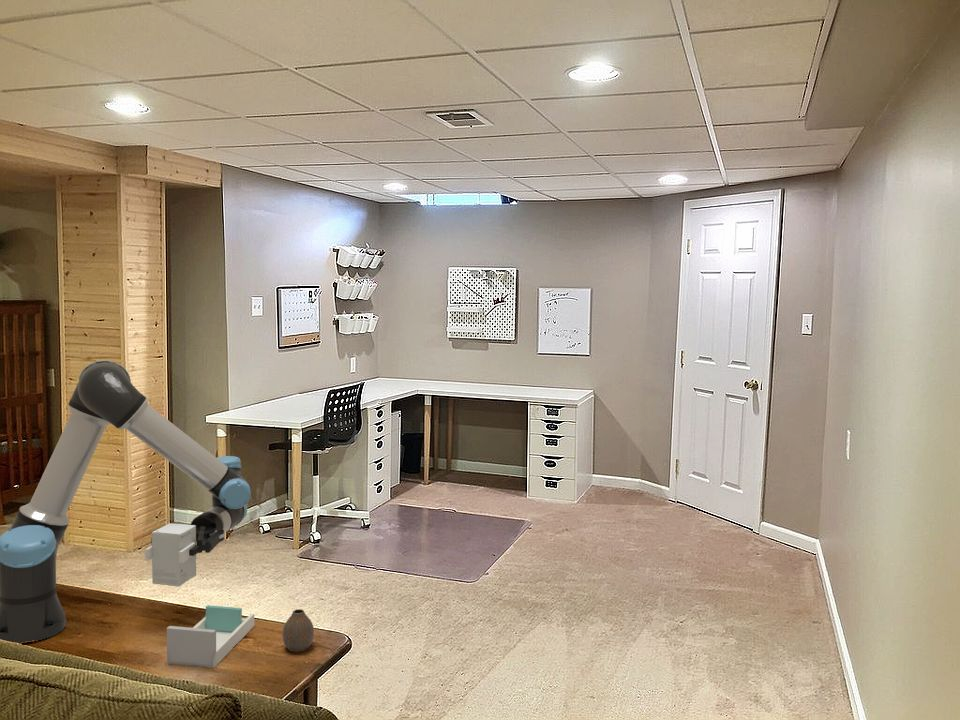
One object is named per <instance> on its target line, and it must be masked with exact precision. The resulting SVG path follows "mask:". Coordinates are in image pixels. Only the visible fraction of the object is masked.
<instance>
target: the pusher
mask: <svg viewBox="0 0 960 720" xmlns="http://www.w3.org/2000/svg"><path fill="white" fill-rule="evenodd" d="M242 611H243V608H242V607H234V606H233V607H232V606H220V605H218V606H217V605H210V604H209V605H208V604H207V605H206V606H205V616H206V629H211V630H218V631H229V632H233V631H234V630H235V629H236V628H237V627H238V626H239V625H240V624H241V623H242V618H243V615H242V614H243V612H242Z"/></svg>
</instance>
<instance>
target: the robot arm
mask: <svg viewBox="0 0 960 720" xmlns="http://www.w3.org/2000/svg"><path fill="white" fill-rule="evenodd" d="M67 407H68V409H69V411H70V415H69V417H68V419H67V422H66V423H65V426H64V428H63V431H62V432H61V435H60V437H59V438H58V441H57V443H56V445H55V448H54V450H53V452H52V454H51V456H50V458H49V461H48V463H47V465H46V466H45V469H44V472H43V473H42V476H41V478H40V480H39V482H38V484H37V487H36V489H35V491H34V493H33V495H32V497H31V499H30V502H29V503H27V504H25V505H21V506H20V507H19V509H18V511H17V514H16V515H15V517H14V520H13V522H12V524H11V526H10V527H9V528H8V530H7V531H5V532H4V533H2V534H1V535H0V639H3V640H7V641H13V642H18V643H22V642H25V641H32V640H35V641H36V640H41V641H43V640H42V639H44V640H46V639H45V638H47V639H49V637H50V638H52V637H54V636H56V635H58V634H59V633H61V632H62V631H63V630H64V629H65V628H66V625H67V623H66V613H65V610H64V609H63V606H62V604H61V602H60V599H59V597H58V595H57V566H56V563H57V562H56V561H57V554H58V549H59V546H60V544H61V541H62V539H63V537H64V535H65V533H66V530H67V528H68V526H69V524H70V519H69V517H68V515H67V512H68V510H69V508H70V506H71V504H72V501H73V499H74V497H75V495H76V493H77V491H78V489H79V486H80V485H81V482H82V480H83V477H84V476H85V473H86V472H87V469H88V466H89V465H90V462H91V460H92V458H93V456H94V454H95V452H96V450H97V447H98V446H99V442H100V440H101V439H102V437H103V434H104V432H105V430H106V427H107V426H109V425H112V426H114V427H115V428H116V429H118V430H123V429H125V430H126V431H128V432H129V433H130V434H132V435H134V436H135V437H136V438H137V439H139V440H140V441H141V442H142V443H144V444H145V445H147V446H148V447H150V448H151V449H152V450H153V451H155V452H156V453H157V454H158V455H160V456H161V457H162V458H164V459H165V460H167V461H168V462H169V463H170V464H172V465H173V466H175V467H176V468H177V469H179V470H180V471H182V472H183V473H184V474H185V475H186V476H188V477H190V478H191V479H192V480H194V481H195V482H196V483H197V484H199V486H201V487H203V488H204V489H205V490H206V491H208V492H209V493H211V504H212V505H211V506H212V507H211V508H209V509H207V510H204V511H203V512H202V513H201V514H199V515H197V516H196V517H194V518H193V519H192V520H191V522H190V523H189V525H196V543H195V542H192V543H191V544H189V545H188V546H187V547H185V548H184V549H182V550H181V551H179V563H183V562H185V561H186V560H187V559H189V558H190V557H192V556H194V555H196V556H197V554H201V553H202V552H205V553H206V554H209V553H211V552H212V551H213V550H214V549H215V547H217V546H218V544H219V543H220V542H223V541H225V533H226V532H227V533H228V531H230V530H231V529H232V528H234V527H236V526H238V525H239V524H240V523H241V522H242V521H243V520H244V519H245V518H246V516H247V513H248V505H247V504H248V503H249V501H250V499H251V495H252V491H251V486H250V485H249V482H247V480H246V479H245V478H244V476H243V474H242V469H243V468H242V461H241V459H240V457H237V456H235V455H234V456H233V455H227V456H226V455H225V456H217V457H216V456H215V455H213V454H212V453H211V452H209V450H207V449H206V448H204V447H203V446H202V445H200V444H199V443H198V442H197V441H196V440H194V439H193V438H192V437H190V436H189V435H188V434H187V433H185V432H184V431H183V430H181V429H180V428H179V427H178V426H176V425H175V424H174V423H172V422H171V421H170V420H169V419H167V418H166V417H165V416H163V414H161V413H160V412H159V411H157V410H156V409H154V408H153V407H152V406H151V405H149V403H148V397H146V396H145V395H144V394H142V393H141V391H139V390H138V389H137V388H136V386H134V385H133V384H132V382H131V376H130V374H129V372H128V371H127V369H125V367H123V366H122V365H120V364H119V363H116V362H114V361H111V360H97V361H94V362H91V363H90V364H89V365H87V366H86V367H85V368H84V369H82V371H81V373H80V375H79V378H78V382H77V384H76V387H75V389H74V391H73V393H72V395H71V397H70V399H69V401H68V404H67ZM150 539H151V542H150V543H151V544H150V545H149V546H147V548H145V551H144V553H145V554H144V556H145V557H144V558H145V559H144V560H145V561H146V562H149V561H150V560H151V561H152V537H151V538H150ZM64 627H65V628H64Z"/></svg>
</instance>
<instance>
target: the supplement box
mask: <svg viewBox="0 0 960 720" xmlns="http://www.w3.org/2000/svg"><path fill="white" fill-rule="evenodd" d="M151 538H152V559H151V568H152V569H151V574H152V575H151V576H152V577H151V578H152V583H151V584H153V585H162V586H169V587H171V586H172V587H181V586H182V585H183V584H185V583H186V582H188V581H189V580H191V579H192V578H194V577H196V576H197V554H196V555H194V556H192V557H190V558H189V559H187V560H186V561H185V562H183V563H179V551H181V550H182V549H184V548H185V547H187V546H188V545H189V544H191V543H192V542H195V543H196V544H197V541H196V525H190V524H185V523H167V524H165V525H164V526H161V527H159V528H158V529H156V530H154V531H151Z"/></svg>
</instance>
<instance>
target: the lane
mask: <svg viewBox="0 0 960 720" xmlns="http://www.w3.org/2000/svg"><path fill="white" fill-rule="evenodd" d="M254 627H255V614H254V613H249V615H248V616H247V617H245V618H243V617H242V623H241V624H240V625H239V626H238V627H237V628H236V629H235V630H234V631H233V632H229V631H218V630H211V629H206V615H205V616H203V618H202V619H201V620H200V621H199V622H197V623H196V624H195V625H194V626H193V627H186V626H176V625H169V626H167V628H166V663H167V665H177V666H187V667H188V666H189V667H195V668H196V667H197V668H198V667H199V668H209V669H215V668H216V666H217V665H218V664H219V663H220V662H221V661H222V660H224V658H225V657H226V656H227V655H228V654H229V653H230V652H231V651H232V650H233V649H234V648H235V647H236V646H237V645H238V644H239V643H240V641H242V639H243V638H245V636H246V635H247V634H248V633H249V632H250V631H251V630H252V629H253V628H254ZM236 644H237V645H236ZM235 645H236V646H235ZM234 646H235V647H234ZM233 647H234V648H233Z"/></svg>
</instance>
